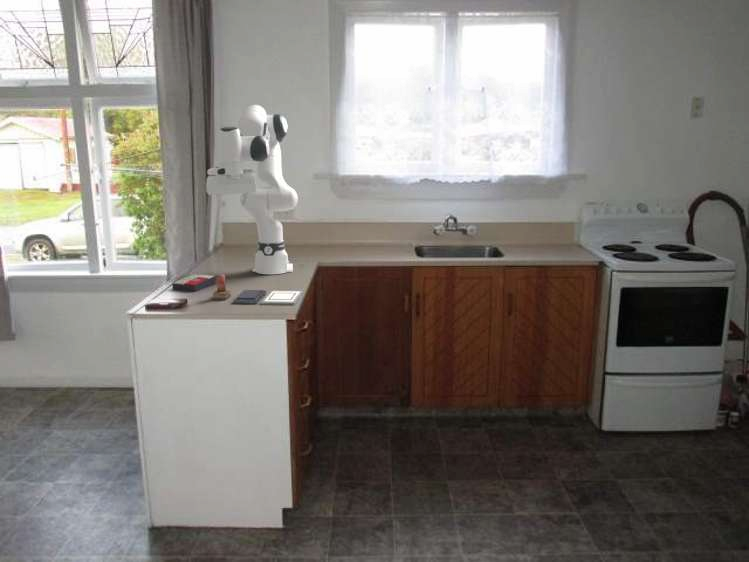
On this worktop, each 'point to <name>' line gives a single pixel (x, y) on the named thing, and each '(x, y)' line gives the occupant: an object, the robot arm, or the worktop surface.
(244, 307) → the worktop surface
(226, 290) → the stamp
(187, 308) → the worktop surface
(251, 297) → the ink pad
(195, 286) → the calculator
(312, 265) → the worktop surface
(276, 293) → the board
